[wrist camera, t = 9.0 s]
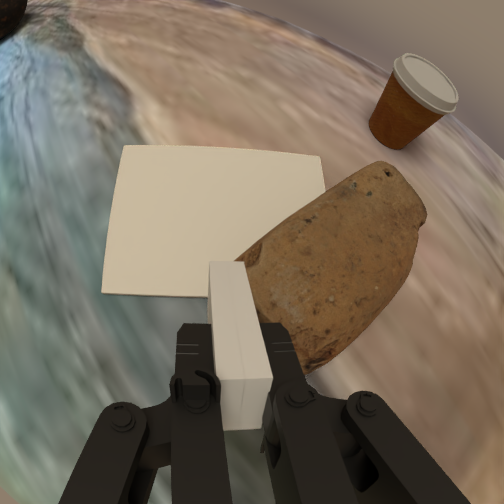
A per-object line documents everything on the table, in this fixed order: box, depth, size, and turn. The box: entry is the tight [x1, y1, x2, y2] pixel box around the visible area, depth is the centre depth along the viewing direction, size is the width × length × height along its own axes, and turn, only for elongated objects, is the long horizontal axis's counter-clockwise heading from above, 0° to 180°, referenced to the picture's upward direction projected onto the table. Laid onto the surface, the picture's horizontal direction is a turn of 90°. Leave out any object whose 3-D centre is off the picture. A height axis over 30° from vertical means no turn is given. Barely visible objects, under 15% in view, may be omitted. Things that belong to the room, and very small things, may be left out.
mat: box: [102, 145, 325, 298], centre depth 30 cm, size 22×16×1 cm
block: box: [234, 161, 427, 375], centre depth 27 cm, size 11×8×20 cm
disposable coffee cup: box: [369, 53, 459, 149], centre depth 34 cm, size 10×10×12 cm
